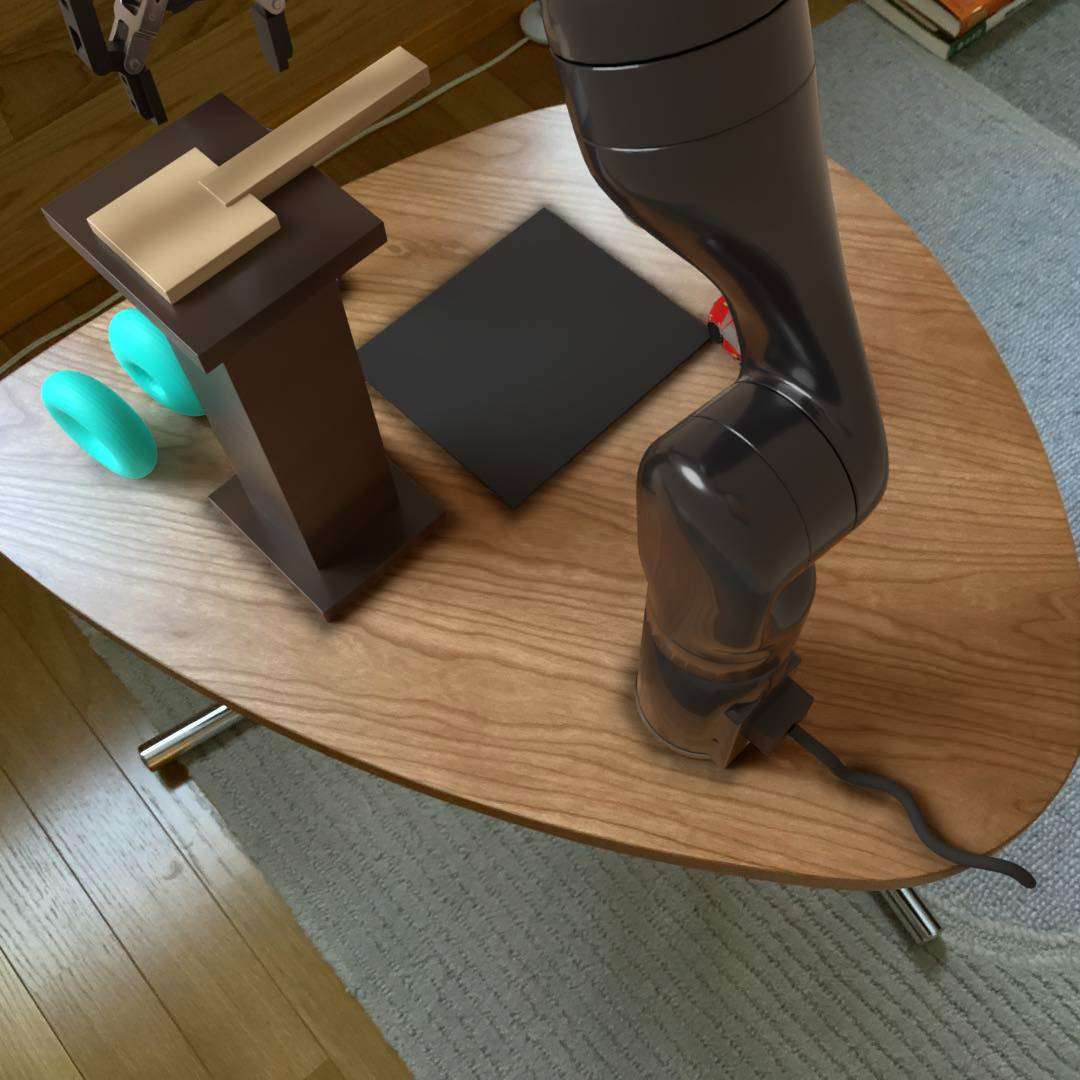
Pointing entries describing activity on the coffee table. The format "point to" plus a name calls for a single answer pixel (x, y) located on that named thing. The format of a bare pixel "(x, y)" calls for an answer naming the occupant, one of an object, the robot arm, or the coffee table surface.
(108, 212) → the spatula
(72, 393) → the donuts
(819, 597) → the coffee table surface
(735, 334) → the race car
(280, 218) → the stand
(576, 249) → the mat
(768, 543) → the robot arm
